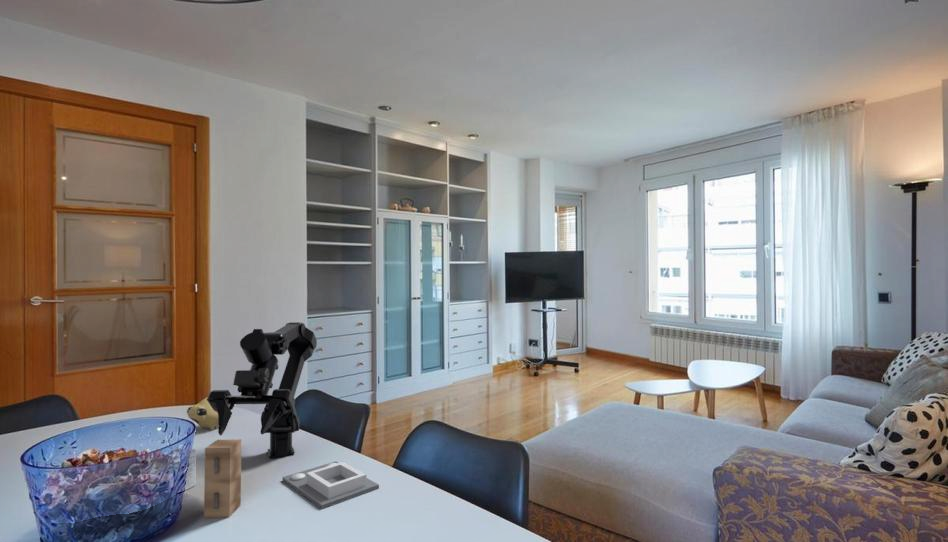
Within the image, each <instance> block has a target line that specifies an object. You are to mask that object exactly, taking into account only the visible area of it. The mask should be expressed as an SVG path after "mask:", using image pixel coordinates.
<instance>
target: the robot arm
mask: <svg viewBox="0 0 948 542" xmlns="http://www.w3.org/2000/svg"><path fill="white" fill-rule="evenodd" d="M317 342H318V341H317V338H316V335H315V333H314V332H313V331H312V330H311V329H309V328H308V327H306V325H305V323H303V322H300V321H299V322H298V321H297V322H296V321H295V322H293V321H292V322H288V323H287V322H286V323H285V325H284V326H282V327H280V328H279V329H277V330H275V331H273V332H270V331H269V332H264V331H263V329H262V328H253V329H252V332H250V333H247V334H246V335H244V336H243V337H242V338H241V339H240V341H239V345H240V348H241V350H242V352H243V354H244V355H245V358H246V359H247V362H248V363H250V364H251V366H250V369H248V370H245V369H243V370H235V373H234V379H233V383H232V385H233V386H236V387H237V392H238V393H241V394H240V395H232V394H231V392H230V391H229V389H213V390H211V391H210V392H209V393H208V396H207V397H208V398H207V397H206V398H207V401H208V402H209V404H210V405H211V407H212V408H213V410H214V411H216V412H218V425H217V426H218V428H217V429H218V435H219V436H223V434H224V432H225V430H226V428H227V426H228V424H229V421H230V419H231V417H232V415H233V412H232V410H234V409H233V408H234V407H235V405H265V406H264V407H263V411H262V413H261V415H260V423H261V428H260V434H261V435H264V434H269V435H270V436H269V448H268V449H267V455H268V459H272V458H273V459H274V458H279V457H285V455H287V456H291V455H290V454H293V455H295V454H294V453H295V452H296V451H295V450H294V447H293V433H294V434H295V432H298V431H300V424H301V423H300V422H301V421H300V418H299V416H298V413H297V408H296V407H295V404H296V399H295V395H296V392H297V388H298V385H299V382H300V379H301V375H302V372H303V370H304V365H305V363H306V361H308V360H309V359H310V358H311V357H312V356H313V354H314V351H315V349H317ZM286 352H288V354H289V356H288V359H287V363H286V365H285V369H284V371H283V374H282V376H281V377H282V378H281V381H280V383H279V386H278V388H277V389H276V388H275V389H273V390H272V393H271V394H269V391H270V389H272V388H273V385H274V384H273V379H274V377H275V376H274V375H275V372H276V370H278V369H279V364H278V363H279V359H278V358H277V356H282V355H284V354H285V353H286Z"/></svg>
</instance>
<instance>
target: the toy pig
mask: <svg viewBox="0 0 948 542" xmlns="http://www.w3.org/2000/svg"><path fill="white" fill-rule="evenodd" d="M207 398H208V396H207V397H204V398H203V399H202V400H201V401H199V402H198V403H197V404H192V406H189V407H187V409H186V413H187V417H188V419H190V420H192V421H193V422H195V423H196V424H197V425H198V426H199V427H200V428H205V429H209V430H210V431H213V430H215V428H216V426H218V412H216V411H214V410H213V408H212V407H211V405H210V404H209V402H208V401H207Z"/></svg>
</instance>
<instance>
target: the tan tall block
mask: <svg viewBox="0 0 948 542" xmlns="http://www.w3.org/2000/svg"><path fill="white" fill-rule="evenodd" d="M241 481H242V439H241V438H240V439H239V438H237V439H235V438H234V439H233V438H232V439H230V438H229V439H217V440H214V441H213V442H212V443H210V444H209V445H207V446H205V448H204V494H203V495H204V503H203V505H204V506H203V509H204V510H203V518H204V519H210V518H213V519H215V518H218V519H219V518H230V517H231V516H232V515H233V514H234V513H235V512H236V511H237V510H238V509H239V508H240V507H241V504H242V503H241V500H242V499H241V498H242V492H241V491H242V482H241Z"/></svg>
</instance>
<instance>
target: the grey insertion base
mask: <svg viewBox="0 0 948 542" xmlns="http://www.w3.org/2000/svg"><path fill="white" fill-rule="evenodd" d="M282 481H283V482H284V483H285V484H287V485H288V486H289V487H290V488H292V489H294V490H295V491H296V492H298V493H299V494H300V495H301V496H303V497H304V498H306V499H307V500H309V501H310V502H312V503H313V504H314V505H316V506H317V507H318V508H319V509H321V510H322V509H326V508H329V507H331V506H332V507H333V506H334V505H337V504H340V503H342V502H344V501H347V500H350V499H353V498H356V497H358V496H361V495H364V494H367V493H369V492H372V491H375V490H377V489H379V488H380V485H379V483H377V482H375V481H373V480H371V479H369V478H367V474H365V472H362V471H360V470H358V469H356V468H354V467H352V466H350V465H349V464H347V463H345V462H343V461H342V462H338V461H333V462H332V461H331V462H330V463H329V462H328V463H326V464H322V465H319V466H315V467H313V468H312V467H311V468H308V469H305V470H302V471H299V472H295V473H292V474H288V475H286V476H283V477H282Z"/></svg>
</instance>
